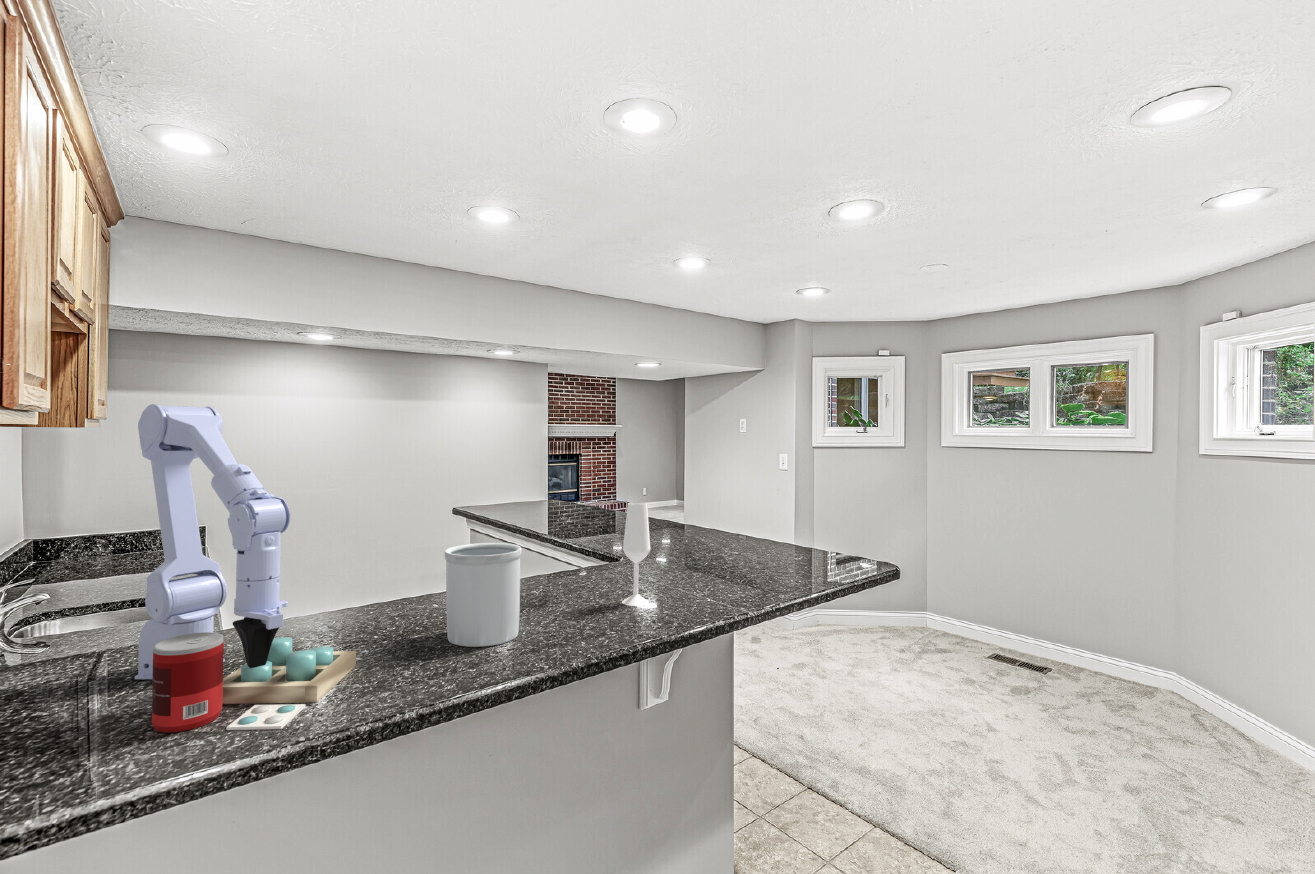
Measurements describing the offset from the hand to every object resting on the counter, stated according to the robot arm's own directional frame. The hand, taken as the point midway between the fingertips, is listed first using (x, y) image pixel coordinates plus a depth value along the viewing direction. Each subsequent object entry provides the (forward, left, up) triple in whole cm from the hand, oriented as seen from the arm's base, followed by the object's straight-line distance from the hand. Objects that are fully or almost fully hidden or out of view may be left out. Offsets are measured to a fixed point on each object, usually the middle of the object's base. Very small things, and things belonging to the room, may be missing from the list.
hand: (256, 665), depth 97 cm
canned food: (-4, -9, -4) cm, 11 cm away
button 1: (0, 0, -3) cm, 3 cm away
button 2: (0, +7, -2) cm, 7 cm away
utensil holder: (+29, +26, -4) cm, 39 cm away
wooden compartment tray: (+3, +3, -4) cm, 6 cm away
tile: (+6, -9, -4) cm, 12 cm away
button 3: (+6, 0, -2) cm, 7 cm away
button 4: (+6, +7, -3) cm, 10 cm away
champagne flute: (+61, +51, -4) cm, 80 cm away
